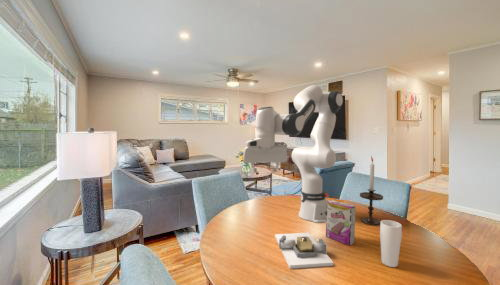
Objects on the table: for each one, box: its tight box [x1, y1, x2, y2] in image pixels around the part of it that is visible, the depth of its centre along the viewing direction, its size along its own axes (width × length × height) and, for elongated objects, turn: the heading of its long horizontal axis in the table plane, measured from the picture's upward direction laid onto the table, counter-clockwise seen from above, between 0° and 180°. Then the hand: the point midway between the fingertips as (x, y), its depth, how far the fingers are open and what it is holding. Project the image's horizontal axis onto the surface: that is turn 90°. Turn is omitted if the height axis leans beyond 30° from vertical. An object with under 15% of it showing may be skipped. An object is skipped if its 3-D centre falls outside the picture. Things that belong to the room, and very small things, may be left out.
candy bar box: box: [325, 199, 357, 247], centre depth 101 cm, size 11×5×16 cm, turn 44°
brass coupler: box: [297, 236, 312, 253], centre depth 90 cm, size 4×4×6 cm
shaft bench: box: [274, 232, 334, 269], centre depth 93 cm, size 17×24×5 cm
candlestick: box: [359, 155, 384, 227], centre depth 121 cm, size 11×11×35 cm
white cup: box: [379, 219, 403, 268], centre depth 84 cm, size 7×7×15 cm
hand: (265, 172), depth 106 cm, fingers open, 8 cm apart
